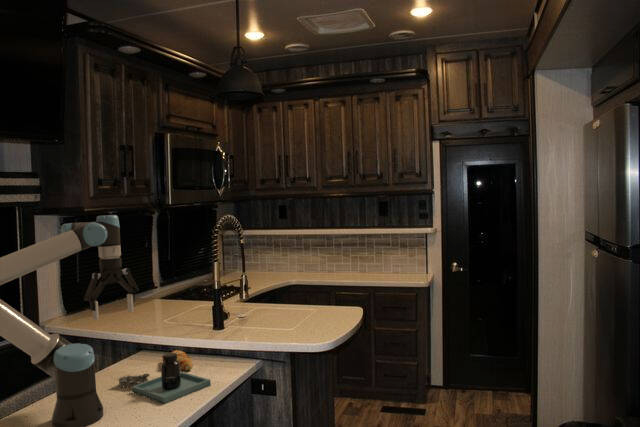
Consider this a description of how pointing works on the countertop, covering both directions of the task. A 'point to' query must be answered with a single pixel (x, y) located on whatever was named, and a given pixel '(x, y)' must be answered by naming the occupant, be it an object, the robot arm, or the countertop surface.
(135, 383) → the egg carton
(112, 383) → the countertop surface
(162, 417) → the countertop surface
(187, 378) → the tray
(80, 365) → the robot arm
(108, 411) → the countertop surface
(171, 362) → the supplement bottle
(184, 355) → the croissant
